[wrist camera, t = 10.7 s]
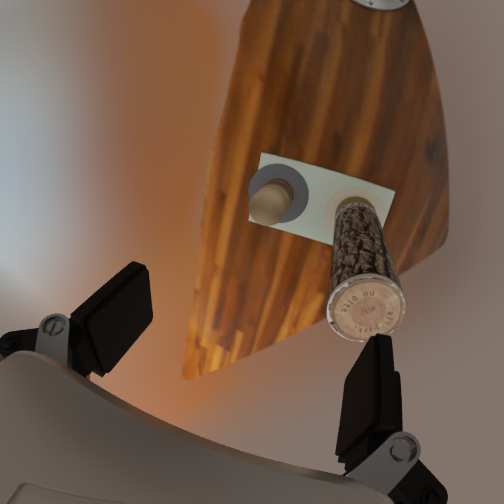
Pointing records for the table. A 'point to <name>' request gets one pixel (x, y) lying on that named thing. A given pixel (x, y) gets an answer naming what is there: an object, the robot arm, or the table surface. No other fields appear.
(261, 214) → the beige rounded cylinder
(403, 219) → the table surface
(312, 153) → the table surface
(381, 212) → the cream pad
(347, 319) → the brown bark cylinder
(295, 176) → the board
